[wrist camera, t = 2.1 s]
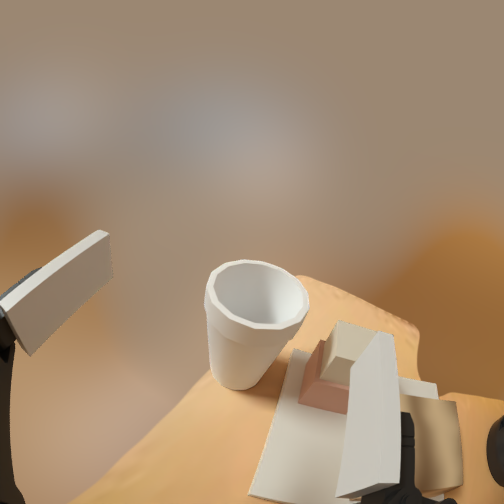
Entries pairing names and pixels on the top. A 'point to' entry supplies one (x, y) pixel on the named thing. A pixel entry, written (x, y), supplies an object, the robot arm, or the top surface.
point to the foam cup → (250, 319)
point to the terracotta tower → (333, 367)
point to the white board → (309, 444)
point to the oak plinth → (434, 444)
